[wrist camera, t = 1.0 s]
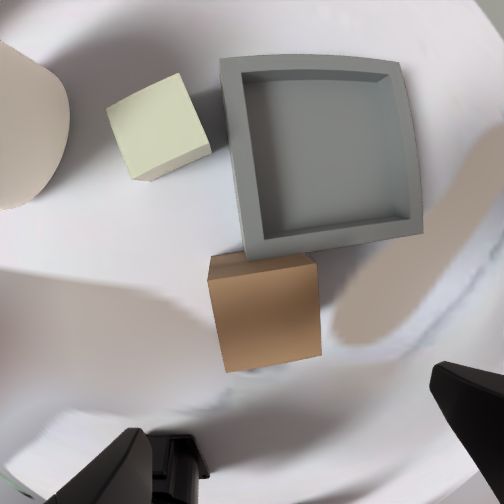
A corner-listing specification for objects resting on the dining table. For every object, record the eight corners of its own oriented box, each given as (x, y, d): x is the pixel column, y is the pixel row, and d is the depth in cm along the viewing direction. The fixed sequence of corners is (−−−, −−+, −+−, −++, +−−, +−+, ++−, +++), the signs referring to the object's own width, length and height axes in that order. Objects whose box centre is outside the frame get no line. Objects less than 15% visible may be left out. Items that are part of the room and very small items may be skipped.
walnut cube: (299, 317, 19) (321, 355, 15) (224, 329, 19) (226, 372, 14) (291, 244, 18) (316, 263, 13) (211, 256, 18) (207, 280, 13)
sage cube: (212, 153, 17) (209, 142, 13) (151, 181, 17) (131, 179, 13) (187, 96, 16) (179, 72, 12) (128, 124, 16) (105, 108, 12)
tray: (401, 227, 19) (423, 233, 16) (244, 251, 18) (247, 261, 15) (380, 74, 16) (398, 62, 14) (219, 76, 16) (219, 59, 13)
